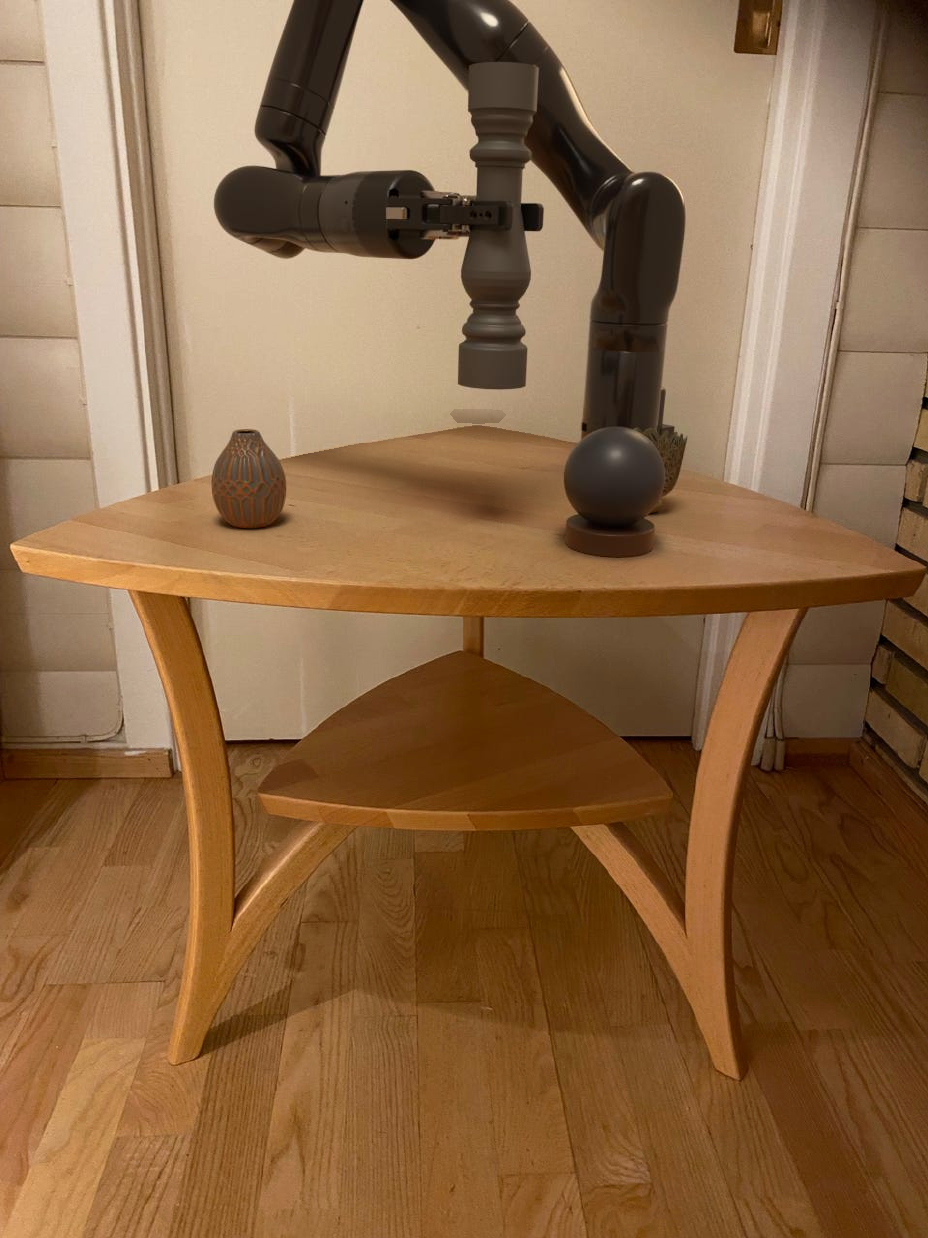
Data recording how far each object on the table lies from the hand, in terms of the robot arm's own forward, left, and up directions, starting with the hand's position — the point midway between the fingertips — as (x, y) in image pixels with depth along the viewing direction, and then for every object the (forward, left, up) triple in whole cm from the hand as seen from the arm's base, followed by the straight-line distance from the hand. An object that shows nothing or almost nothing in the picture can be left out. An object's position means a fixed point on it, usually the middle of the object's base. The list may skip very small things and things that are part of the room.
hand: (525, 216), depth 80 cm
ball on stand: (-6, +7, -28) cm, 29 cm away
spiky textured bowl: (-18, +1, -28) cm, 33 cm away
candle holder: (+1, -3, -14) cm, 14 cm away
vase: (+17, -18, -28) cm, 37 cm away
